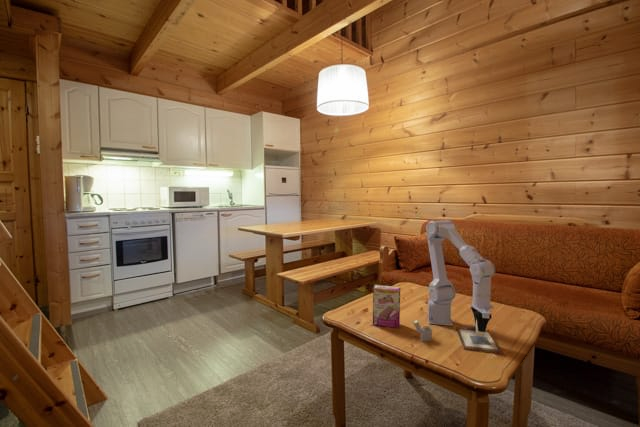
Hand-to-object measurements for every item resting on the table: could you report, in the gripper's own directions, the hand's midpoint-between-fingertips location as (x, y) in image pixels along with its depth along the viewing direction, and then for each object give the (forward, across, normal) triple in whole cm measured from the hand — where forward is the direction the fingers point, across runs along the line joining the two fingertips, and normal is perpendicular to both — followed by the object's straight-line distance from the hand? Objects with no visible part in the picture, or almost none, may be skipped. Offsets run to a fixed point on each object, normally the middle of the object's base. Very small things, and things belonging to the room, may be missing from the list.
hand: (480, 329), depth 111 cm
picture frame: (+6, +2, 0) cm, 6 cm away
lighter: (+6, -3, +20) cm, 21 cm away
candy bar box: (+6, +7, +34) cm, 36 cm away
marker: (+2, 0, 0) cm, 2 cm away
